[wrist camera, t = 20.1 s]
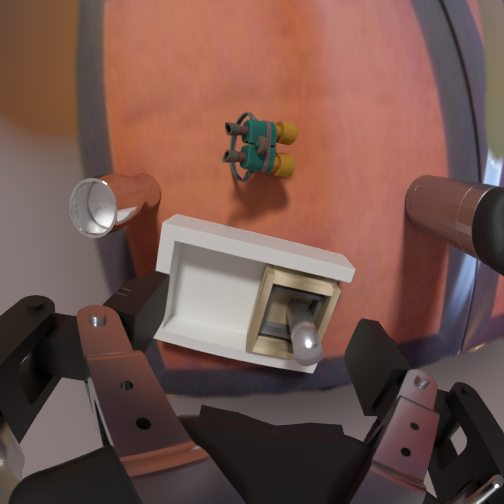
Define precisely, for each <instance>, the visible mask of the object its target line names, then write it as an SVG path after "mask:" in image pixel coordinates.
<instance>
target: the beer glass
mask: <svg viewBox="0 0 504 504" xmlns="http://www.w3.org/2000/svg"><path fill="white" fill-rule="evenodd" d="M160 194H161V192H160V187H159V184H158V182H157V181H156V179H155V178H153V177H152V176H151V175H148V174H145V173H140V174H136V175H134V176H132V177H130V176H126V175H122V174H104V175H99V176H95V177H92V178H88V179H85V180H83V181H81V182H80V183H78V184H77V186H76V187H75V188H74V190H73V192H72V194H71V197H70V202H69V211H70V216H71V219H72V222H73V224H74V225H75V227H76V228H77V229H78V230H79V231H80V232H81V233H82V234H83V235H85V236H87V237H90V238H99V237H102V236H104V235H107V234H110V233H113V232H115V231H118V230H120V229H122V228H123V227H125V226H127V225H128V224H129V223H131V222H132V221H133V220H134V219H135V218H136V217H137V216H138V215H139V214H140V213H146V212H149V211H151V210H153V209H154V208H155V207H156V206H157V204H158V202H159V200H160Z"/></svg>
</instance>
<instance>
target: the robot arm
mask: <svg viewBox="0 0 504 504" xmlns="http://www.w3.org/2000/svg"><path fill="white" fill-rule="evenodd" d="M405 207H406V213H407V216H408V218H409V220H410V222H411V223H412V224H413V225H414V226H415V227H416V228H418V229H419V230H421V231H423V232H425V233H427V234H429V235H431V236H433V237H435V238H437V239H439V240H441V241H443V242H445V243H447V244H449V245H451V246H453V247H455V248H457V249H459V250H461V251H463V252H464V253H466V254H468V255H470V256H472V257H474V258H476V259H478V260H479V261H481V262H483V263H485V264H486V265H488V266H490V267H491V268H492V269H493V270H495V271H496V272H498V273H499V274H501V275H503V276H504V187H500V186H494V185H489V184H483V183H477V182H471V181H465V180H459V179H452V178H445V177H439V176H431V175H425V176H422V177H419V178H418V179H416V180H415V181H414V182H413V183H412V184H411V186H410V188H409V190H408V192H407V195H406V202H405ZM169 282H170V275H169V274H167V273H163V272H159V271H155V270H151V271H150V272H149V273H148V274H147V275H146V276H145V277H144V278H143V279H140V278H134V279H132V280H129V281H127V282H126V283H125V284H124V285H123V286H121V288H119V289H118V290H117V291H116V293H114V294H113V295H112V296H111V297H110V298H109V299H108V300H107V301H106V302H105V303H104V304H103V305H90V306H86V307H84V308H82V309H80V310H79V311H78V313H77V316H71V315H64V314H58V313H55V305H54V302H53V301H52V300H50V299H49V298H47V297H44V296H39V295H33V296H28V297H25V298H23V299H21V300H20V301H18V302H17V303H16V304H15V305H13V306H12V307H11V308H10V309H8V310H7V311H6V312H5V313H3V314H2V315H1V316H0V504H504V433H503V431H502V429H501V428H500V427H499V425H498V423H497V422H496V420H495V418H494V417H493V415H492V414H491V412H490V411H489V409H488V408H487V406H486V405H485V403H484V402H483V400H482V399H481V397H480V396H479V394H478V393H477V392H476V391H475V390H474V389H473V388H472V387H471V386H469V385H467V384H465V383H462V382H457V383H455V384H454V385H453V387H452V388H451V390H450V391H449V392H447V391H443V390H439V389H437V383H436V381H435V380H434V379H433V378H432V377H431V376H430V375H428V374H427V373H425V372H423V371H420V370H415V369H414V370H413V368H412V367H411V365H410V364H409V362H408V361H407V359H406V358H405V356H404V355H402V354H403V353H402V352H401V350H400V349H399V347H398V346H397V344H396V343H395V341H394V340H393V339H392V338H391V337H389V336H388V335H387V333H386V332H385V330H384V329H383V327H382V326H381V324H380V323H379V322H378V321H374V320H368V319H361V320H360V321H359V322H358V324H357V326H356V329H355V331H354V333H353V335H352V338H351V340H350V342H349V344H348V346H347V348H346V351H345V364H346V366H347V369H348V372H349V374H350V377H351V380H352V383H353V385H354V388H355V391H356V393H357V396H358V399H359V402H360V405H361V407H362V410H363V413H364V415H365V416H377V417H378V418H377V419H376V420H375V422H374V423H373V425H372V427H371V429H370V430H369V432H368V434H367V435H366V437H365V439H364V441H363V442H361V441H360V440H358V439H355V438H353V437H350V436H347V435H344V432H343V428H342V425H335V424H321V423H302V424H292V425H280V426H276V425H271V424H269V423H265V422H262V421H259V420H257V419H254V418H251V417H249V416H246V415H243V414H240V413H238V412H233V411H227V410H223V409H218V408H213V407H209V406H205V405H202V406H201V410H200V415H180V416H177V415H176V414H175V412H174V410H173V408H172V407H171V405H170V403H169V401H168V400H167V398H166V396H165V394H164V392H163V391H162V389H161V387H160V385H159V383H158V381H157V379H156V378H155V376H154V374H153V372H152V370H151V368H150V366H149V364H148V362H147V360H146V358H145V356H144V353H145V352H146V350H147V348H148V346H149V345H150V343H151V341H152V339H153V338H154V336H155V334H156V332H157V331H158V329H159V327H160V325H161V324H162V322H163V319H164V316H165V311H166V304H167V297H168V289H169ZM26 356H27V358H26V359H25V360H24V361H23V359H24V358H25V357H26ZM22 361H23V362H22ZM21 362H22V363H21ZM20 364H21V365H20ZM62 377H64V378H70V379H76V380H83V381H84V386H85V390H86V394H87V398H88V401H89V405H90V408H91V412H92V415H93V418H94V422H95V425H96V429H97V433H98V436H99V439H100V443H101V446H102V448H99V449H97V450H95V451H92V452H90V453H87V454H85V455H82V456H80V457H78V458H75V459H72V460H70V461H67V462H65V463H62V464H59V465H56V466H53V467H50V468H47V469H45V470H42V471H38V472H36V473H33V474H31V475H29V476H27V477H25V478H24V479H23V480H22V469H23V466H24V453H23V451H22V449H21V447H20V445H19V444H20V442H21V440H22V439H23V437H24V435H25V434H26V432H27V431H28V429H29V427H30V426H31V424H32V422H33V421H34V419H35V418H36V416H37V414H38V413H39V411H40V410H41V408H42V407H43V405H44V403H45V402H46V400H47V399H48V397H49V396H50V394H51V393H52V391H53V390H54V388H55V387H56V385H57V384H58V382H59V381H60V379H61V378H62ZM460 426H461V427H462V429H463V431H464V433H465V435H466V437H467V445H466V448H465V449H464V450H463V452H462V453H461V454H460V455H459V456H458V454H457V452H456V450H455V448H454V446H453V444H452V441H451V440H450V438H451V437H452V435H453V434H454V433H455V432H456V431H457V429H458V428H459V427H460ZM427 469H428V472H429V475H430V478H431V481H432V484H433V486H434V489H435V492H436V495H437V498H435V497H434V496H433V495H431V494H430V493H429V492H427V491H426V486H425V485H424V483H423V482H424V478H425V475H426V471H427Z"/></svg>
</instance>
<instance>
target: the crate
mask: <svg viewBox="0 0 504 504" xmlns="http://www.w3.org/2000/svg"><path fill="white" fill-rule="evenodd" d="M340 292H341V290H340V289H339V287H338V285H337V284H336V282H335V280H334V279H332V278H328V277H324V276H320V275H315V274H311V273H307V272H303V271H299V270H294V269H290V268H286V267H282V266H278V265H273V264H269V263H265V267H264V270H263V274H262V278H261V281H260V285H259V289H258V292H257V296H256V299H255V303H254V307H253V310H252V314H251V317H250V321H249V324H248V328H247V338H246V351H251V352H256V353H261V354H266V355H271V356H276V357H282V358H287V359H293V360H295V358H294V352H293V346H292V340H291V333H290V327H289V321H288V315H287V309H286V308H287V304H288V303H289V301H291V300H292V299H294V298H303V299H305V300H306V301H307V302H308V305H309V308H310V311H311V314H312V317H313V320H314V323H315V327H316V330H317V333H318V336H319V339H320V342H321V340H322V338H323V335H324V333H325V331H326V328H327V326H328V323H329V321H330V318H331V316H332V313H333V311H334V308H335V305H336V303H337V300H338V298H339V295H340Z"/></svg>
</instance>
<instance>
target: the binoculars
mask: <svg viewBox="0 0 504 504" xmlns="http://www.w3.org/2000/svg"><path fill="white" fill-rule="evenodd" d="M247 115H249V117H250V120H247V121H246V122H244V124H243V126H240V124H241V122H242V121H243V119H244V118H245V117H246V116H247ZM225 129H226V133H227V135H231V136H232V138H231V145H230V150H226V151H225V153H224V156H223V159H222V162H229V163H231V169H232V172H233V174H234V176H235V177H236V179H237V180H238V181H242V182H245V181H247V180H248V179H249V177H251V174H254V173H256V172H257V173H260V174H264V175H270V174H273V175H276V176H282V177H288V176H290V175H291V174H292V173H293V171H294V169H295V162H294V159H293V158H292V157H291V156H290V155H286V154H275V151H276V149H275V148H274V146H276V142H277V143H281V144H285V145H290V144H292V143H294V142H295V140H296V138H297V135H298V131H297V128H296V126H295V125H294V124H292V123H286V122H277V123H276V125H275V123H273V122H268V121H258V120H257V119H256V118H255V117H254V115H253V114H252V113H248V112H245V113H243V114H242V115H241V116H240V117H239V119H238V120H237V122H236V124H235V123H227V122H226V123H225ZM238 135H242V141H243V143H249V144H253V145H248V146H243V147H242V149H241V152H237V151H236V150H235V141H236V136H238ZM235 162H240V166H241V167H242V168H243V169H248V170H247V172H246V174H245V176H244V178H243V179H242V178H241V177H240V176H239V174H238V173H237V170H236V166H235Z"/></svg>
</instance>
